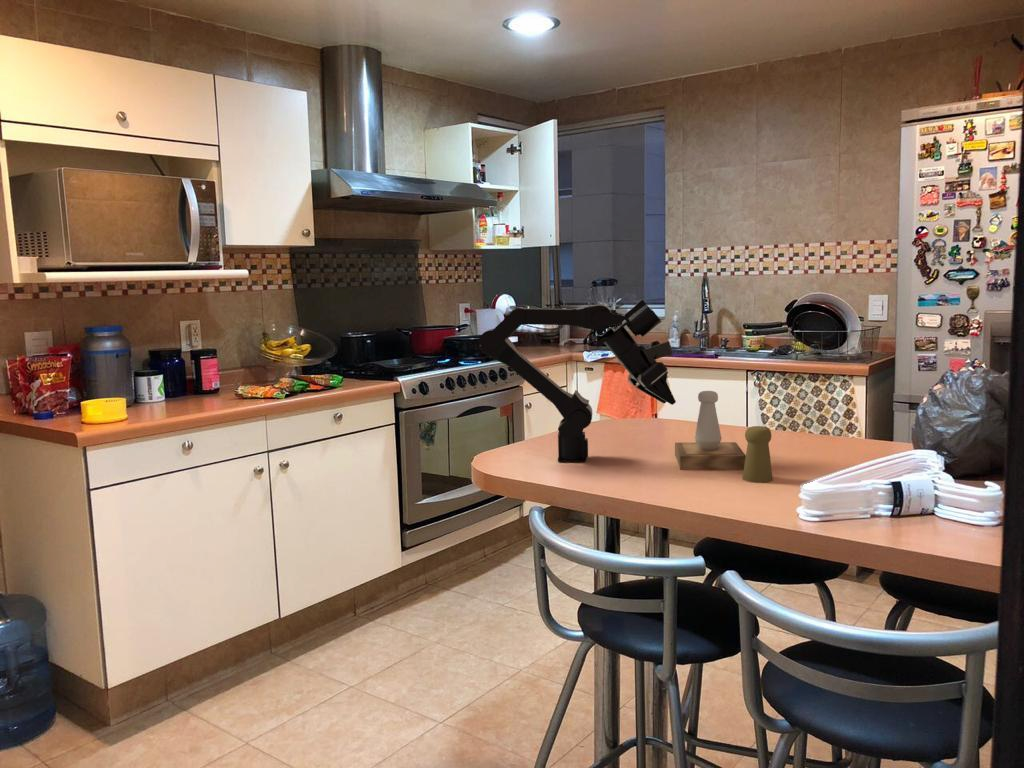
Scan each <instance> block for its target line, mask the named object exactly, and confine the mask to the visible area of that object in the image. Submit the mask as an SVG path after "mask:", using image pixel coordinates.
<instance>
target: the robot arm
mask: <svg viewBox="0 0 1024 768" xmlns="http://www.w3.org/2000/svg"><path fill="white" fill-rule="evenodd" d="M623 321H625V322H624V323H623ZM662 322H663V321H662V320H661V318H659V316H658V315H657V313H656V312H655V311H654V310H653V309H652V308H651V307H649V305H648V304H647V303H646V302H645V300H644V299H640V300H638V302H637V303H636V304H635V305H634V306H633V307H632V308H630V309H629V310H628V311H627V312H625V313H622V312H617V311H613V310H612V311H611V309H610V308H609V307H608V306H607V305H605V304H601V303H600V304H599V303H598V304H591V305H587V306H579V307H575V308H574V307H573V308H544V307H543V308H537V307H535V308H534V307H533V308H531V307H530V308H529V307H526V308H525V307H522V306H517V307H514V308H513V309H512V310H511V311H510V312H509V314H508V315H507V316H506V317H504V318H503V320H501V321H500V322H499V324H497V325H496V326H495V327H494V328H490V329H487V330H486V331H484V332H483V333H481V335H480V337H479V339H478V346H479V349H480V351H481V352H482V353H483V354H485V355H487V356H488V357H490V358H491V359H493V360H495V361H497V362H500V363H501V364H504V365H506V367H507V366H508V367H509V368H510V369H511V370H513V372H515V373H516V374H517V375H518V376H520V377H521V378H522V379H524V381H526V382H527V383H528V384H529V385H530V386H531V387H532V388H533V389H535V390H536V391H538V393H540V394H541V395H542V396H543V397H544V398H545V399H547V401H549V402H550V403H552V405H554V406H555V408H556V410H557V411H558V412H559V414H560V415H561V417H562V419H561V420H560V422H559V425H558V428H557V430H558V434H557V449H558V453H557V454H558V455H557V457H558V458H557V462H558V463H560V462H561V463H575V462H576V463H579V462H580V463H581V462H583V463H585V462H587V458H589V438H587V437H586V431H584V430H585V429H586V428H587V427H589V426H590V425H591V422H592V419H593V408H592V406H591V404H590V400H589V399H586V398H584V397H583V396H582V395H581V394H580V393H579V391H578V390H576V389H575V391H574V392H573V393H570V392H568V391H566V390H565V389H564V388H562V387H561V386H560V385H559V384H557V383H556V382H555V381H554V380H552V378H550V377H549V376H548V375H546V374H545V373H544V372H543V371H542V370H541V369H539V368H538V367H537V366H536V365H535V364H534V363H532V362H531V361H530V360H529V359H528V358H527V357H525V355H523V354H521V353H520V352H519V350H518V349H517V347H516V345H514V343H513V342H512V341H511V339H510V337H511V336H512V335H513V334H514V333H515V332H516V331H517V330H518V329H519V328H520V327H521V326H522V325H537V326H539V325H542V326H544V325H545V326H547V325H550V326H551V325H552V326H574V327H577V328H581V329H587V330H592V331H598V332H599V331H605V330H606V331H605V332H604V333H603V334H596V344H595V347H596V348H599V347H601V346H602V345H603V344H605V346H607V348H608V349H609V350H610V352H611V353H612V355H613V356H615V357H616V359H617V360H618V363H619V364H620V365H621V366H622V367H623V368H624V369H625V370H626V371H627V372H628V378H627V381H628V382H629V383H630V385H631V386H632V387H634V388H635V389H637V390H638V391H641V392H642V393H644V394H646V395H648V396H649V397H652V398H653V399H654V400H657V401H658V402H660V403H662V404H666V403H668V404H669V405H671V406H672V405H675V404H676V402H677V401H676V399H675V396H674V395H673V393H672V391H671V388H670V387H669V384H668V382H667V378H668V373H669V371H668V367H667V366H666V365H665V364H664V362H659V361H657V360H659V359H661V358H665V357H667V356H668V357H669V356H670V357H671V356H672V355H674V352H673V348H672V345H671V342H670V341H669V340H668V341H664V342H659V340H654V341H651V342H649V347H645V346H644V345H641V344H640V345H639V344H638V342H637V341H636V339H634V337H633V336H635V337H638V336H641V337H642V338H643V337H645V336H646V335H647V334H648V333H650V332H651V331H652V330H653V329H655V328H656V327H658V326H659V324H661V323H662ZM621 323H622V324H621ZM620 324H621V325H620ZM614 325H620V326H618V327H617V328H615V329H614V328H613V327H610V326H614ZM609 327H610V328H609ZM625 327H627V328H628V330H630V331H631V333H632V334H633V336H632V335H631V334H630V332H629V331H628V330H627V329H626V328H625ZM607 329H608V330H607Z"/></svg>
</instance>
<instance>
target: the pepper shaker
mask: <svg viewBox="0 0 1024 768" xmlns="http://www.w3.org/2000/svg"><path fill="white" fill-rule="evenodd" d="M744 437H745V440H746V443H747V446H746V452H745V453H746V454H745V455H746V458H745V465H744V470H743V472H742V474H743V475H742V480H743V481H745V482H749V483H757V484H763V483H771V482H773V481H774V478H773V477H774V476H773V470H772V461H771V453H770V446H769V443H770V442H771V440H772V431H771V429H770V428H769V427H766V426H762V425H755V426H749V427H748V428H746V430H745V433H744Z"/></svg>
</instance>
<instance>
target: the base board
mask: <svg viewBox="0 0 1024 768" xmlns="http://www.w3.org/2000/svg"><path fill="white" fill-rule="evenodd" d="M674 456H675V459H676V462H677V465H678V467H679V470H681V471H683V470H692V471H693V470H694V471H695V470H698V471H699V470H701V471H703V470H704V471H705V470H707V471H709V470H713V471H715V470H724V471H725V470H728V471H729V470H731V471H733V470H739V471H741V470H742V471H744V465H745V458H746V454H745V453H744V451H743V450H742V449H741V447H740V446H739V444H738V443H737V441H735V442H733V441H732V442H731V441H730V442H729V441H728V442H727V441H726V442H721V441H720V443H719V445H718V447H717V449H716V450H701V449H699V448H698V446H697V443H696V442H674Z"/></svg>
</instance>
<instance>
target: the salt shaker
mask: <svg viewBox="0 0 1024 768" xmlns="http://www.w3.org/2000/svg"><path fill="white" fill-rule="evenodd" d="M718 395H719V394H718V392H716V391H714V390H703V391H700V392H698V396H697V400H698V402H700V406H699V411H698V415H697V416H698V417H697V422H696V427H695V435H694V441H695V443H697V446H698V448H699V449H701V450H716V449H717V447H718V445H719V443H720V442H721V441H722V434H721V429H720V424H719V418H718V414H717V409H716V402H718V400H719V396H718Z"/></svg>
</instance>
